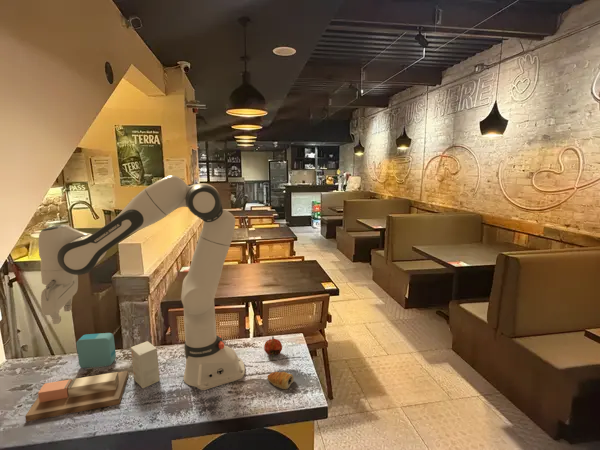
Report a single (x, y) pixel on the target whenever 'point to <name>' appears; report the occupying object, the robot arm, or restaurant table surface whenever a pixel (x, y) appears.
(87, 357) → the data package
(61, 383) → the orange rectangular block
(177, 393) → the restaurant table surface
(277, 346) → the pomegranate
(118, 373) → the board
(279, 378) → the pastry
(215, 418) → the restaurant table surface
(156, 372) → the small box
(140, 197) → the robot arm
